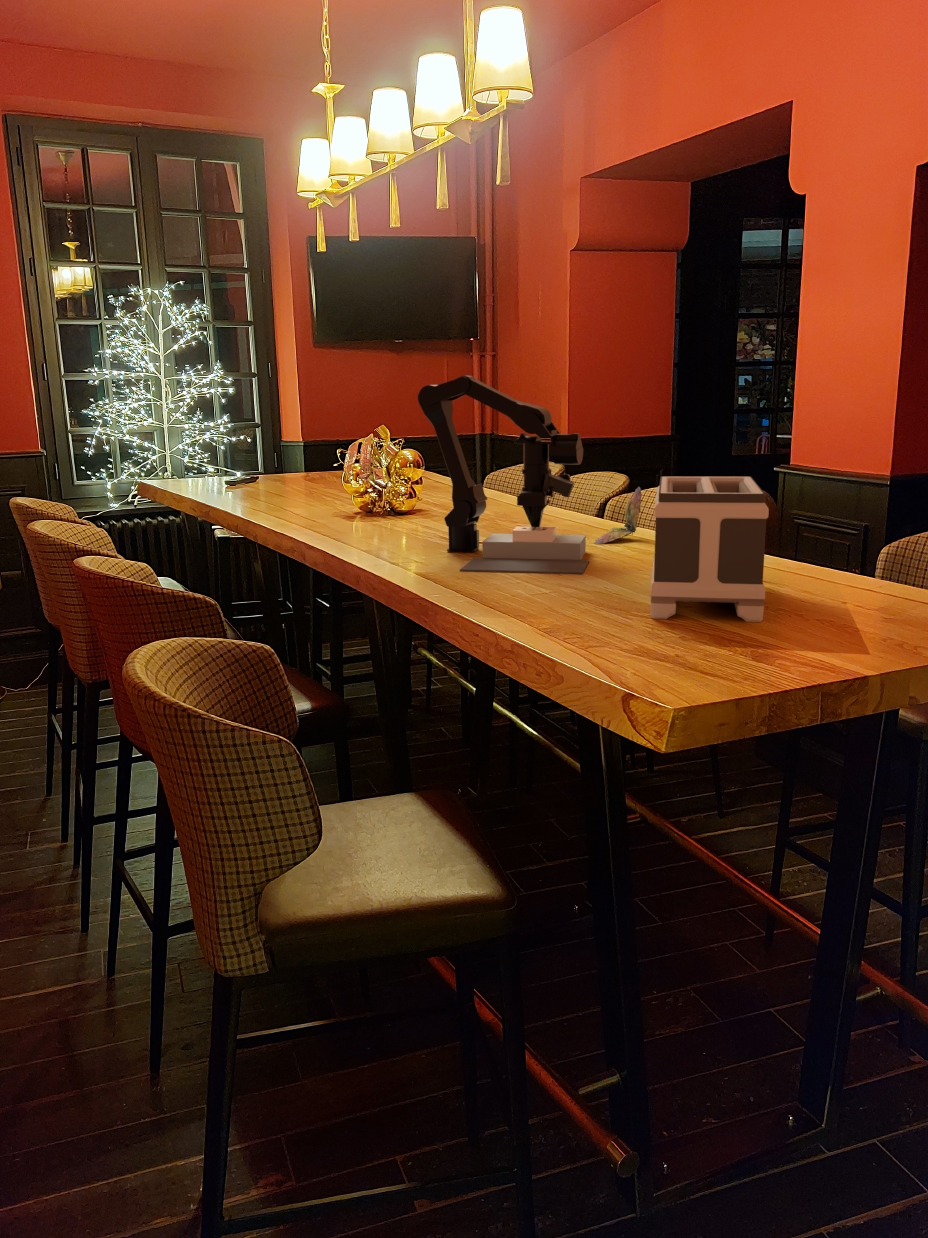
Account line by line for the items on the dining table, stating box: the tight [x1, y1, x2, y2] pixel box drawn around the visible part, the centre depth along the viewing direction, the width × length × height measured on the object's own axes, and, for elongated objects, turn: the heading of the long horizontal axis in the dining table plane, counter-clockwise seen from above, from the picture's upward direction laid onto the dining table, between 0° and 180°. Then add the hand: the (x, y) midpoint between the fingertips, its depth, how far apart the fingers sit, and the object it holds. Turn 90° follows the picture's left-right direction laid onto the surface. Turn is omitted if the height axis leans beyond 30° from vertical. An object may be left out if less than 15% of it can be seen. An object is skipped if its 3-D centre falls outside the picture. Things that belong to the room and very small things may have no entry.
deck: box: [481, 533, 587, 560], centre depth 219 cm, size 22×12×4 cm, turn 77°
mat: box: [459, 557, 590, 575], centre depth 206 cm, size 26×14×1 cm, turn 77°
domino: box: [511, 526, 557, 542], centre depth 216 cm, size 9×6×3 cm, turn 78°
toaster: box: [649, 475, 770, 623], centre depth 171 cm, size 18×34×21 cm, turn 168°
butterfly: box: [594, 486, 642, 545], centre depth 237 cm, size 17×10×10 cm
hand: (536, 532), depth 220 cm, fingers closed
